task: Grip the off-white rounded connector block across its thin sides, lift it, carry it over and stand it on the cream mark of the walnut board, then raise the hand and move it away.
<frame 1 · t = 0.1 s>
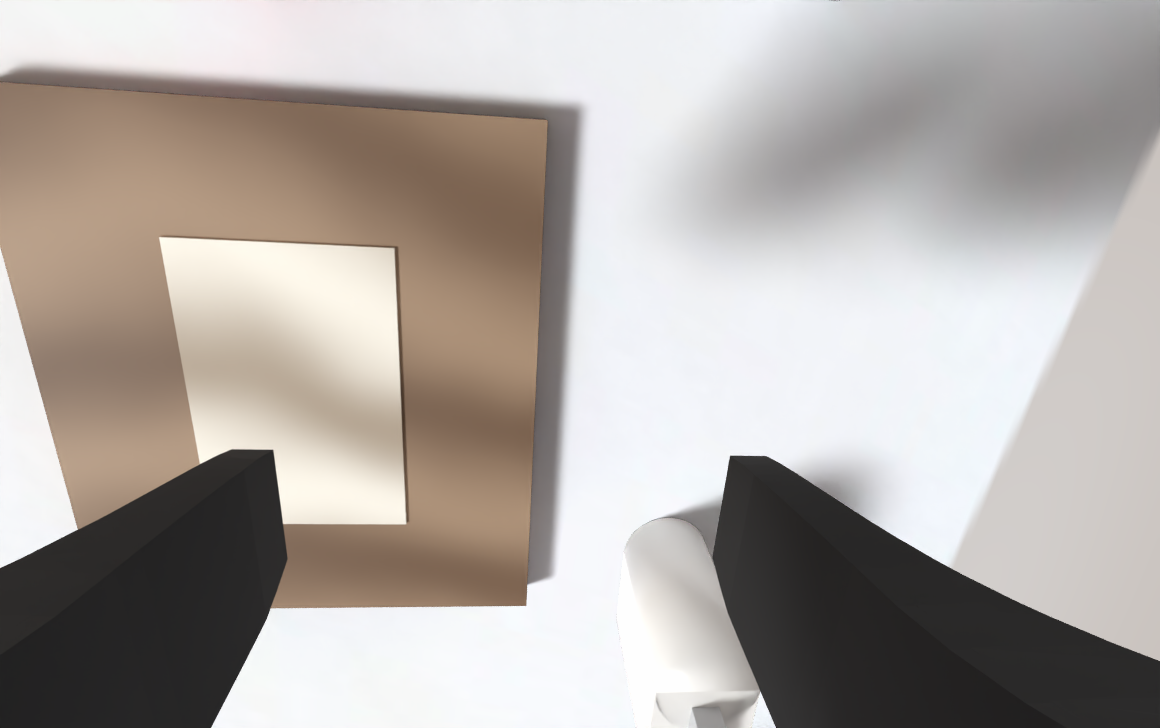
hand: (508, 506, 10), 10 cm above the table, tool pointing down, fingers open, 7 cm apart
walnut board: (307, 381, 20), on the table
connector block: (659, 584, 24), on the table
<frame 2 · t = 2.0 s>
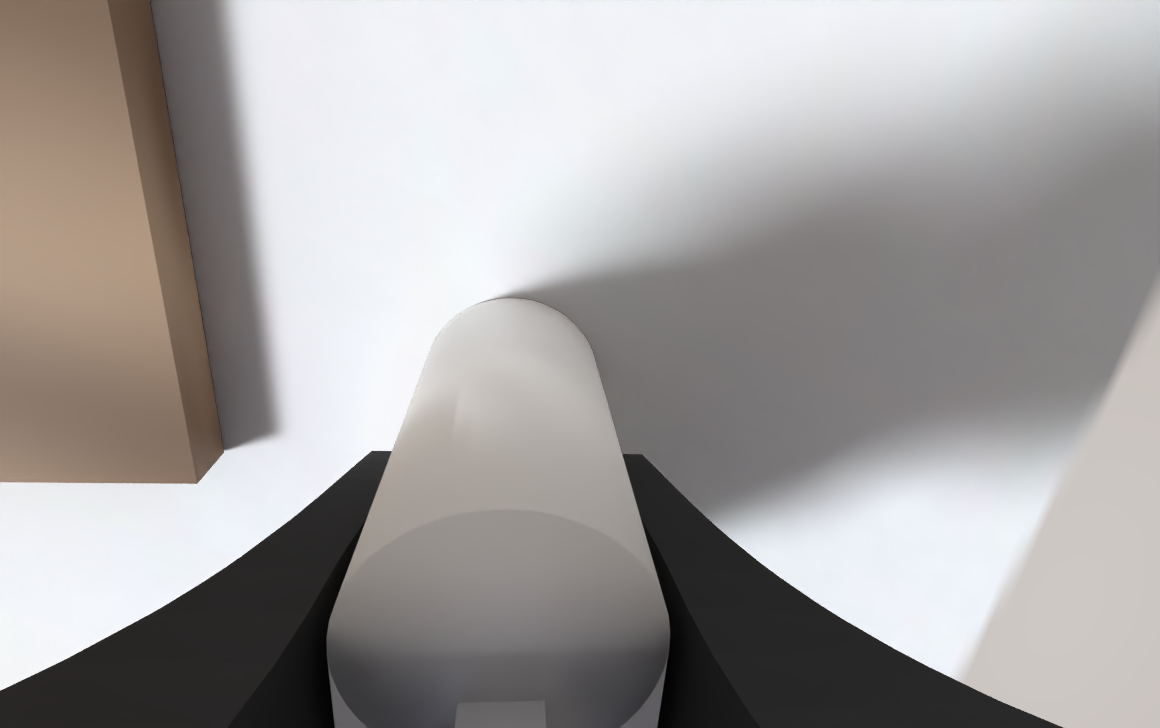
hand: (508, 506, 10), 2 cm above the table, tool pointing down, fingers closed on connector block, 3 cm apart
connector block: (510, 455, 12), on the table, touching gripper
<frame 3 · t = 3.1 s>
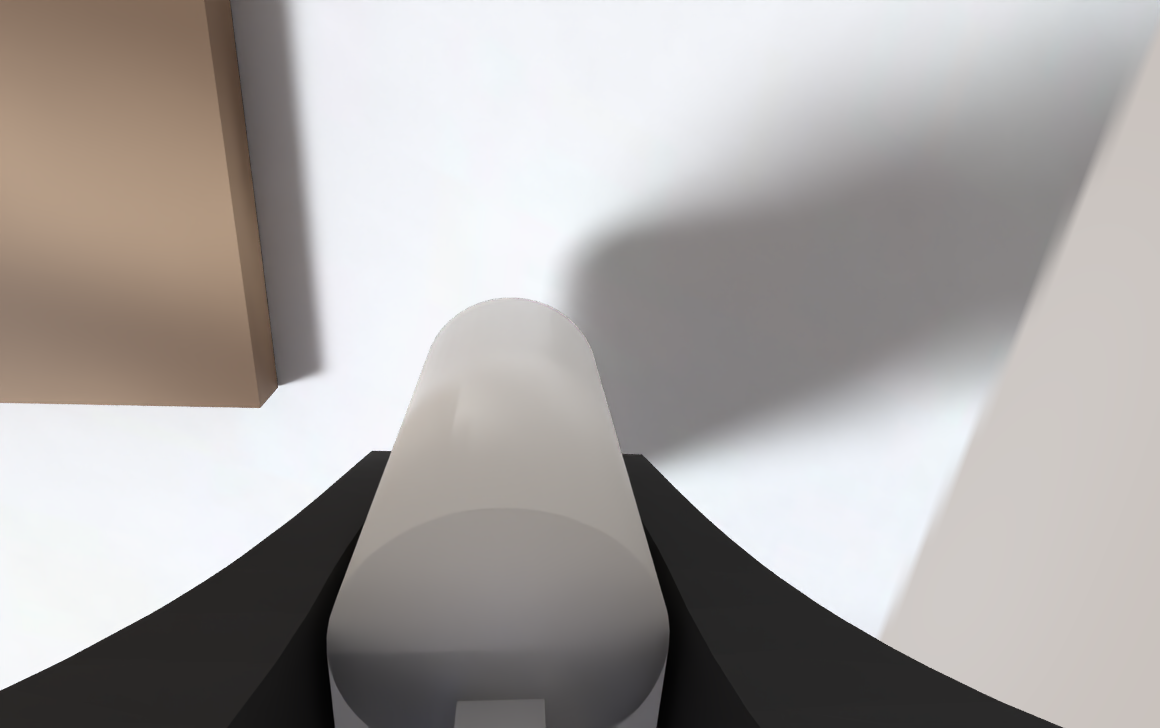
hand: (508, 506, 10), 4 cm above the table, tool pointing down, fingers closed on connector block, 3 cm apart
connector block: (509, 454, 12), point 3 cm above the table, touching gripper
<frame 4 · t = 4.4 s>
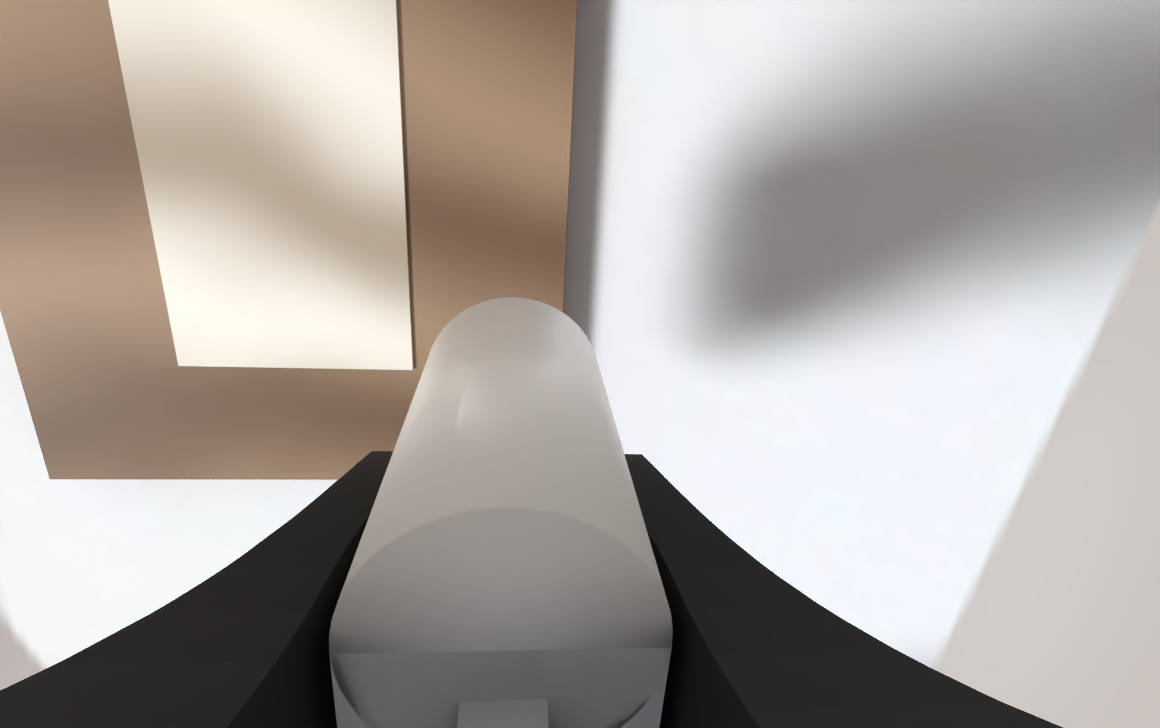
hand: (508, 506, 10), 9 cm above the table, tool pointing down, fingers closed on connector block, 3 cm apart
walnut board: (292, 189, 16), on the table
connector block: (511, 454, 12), point 7 cm above the table, touching gripper
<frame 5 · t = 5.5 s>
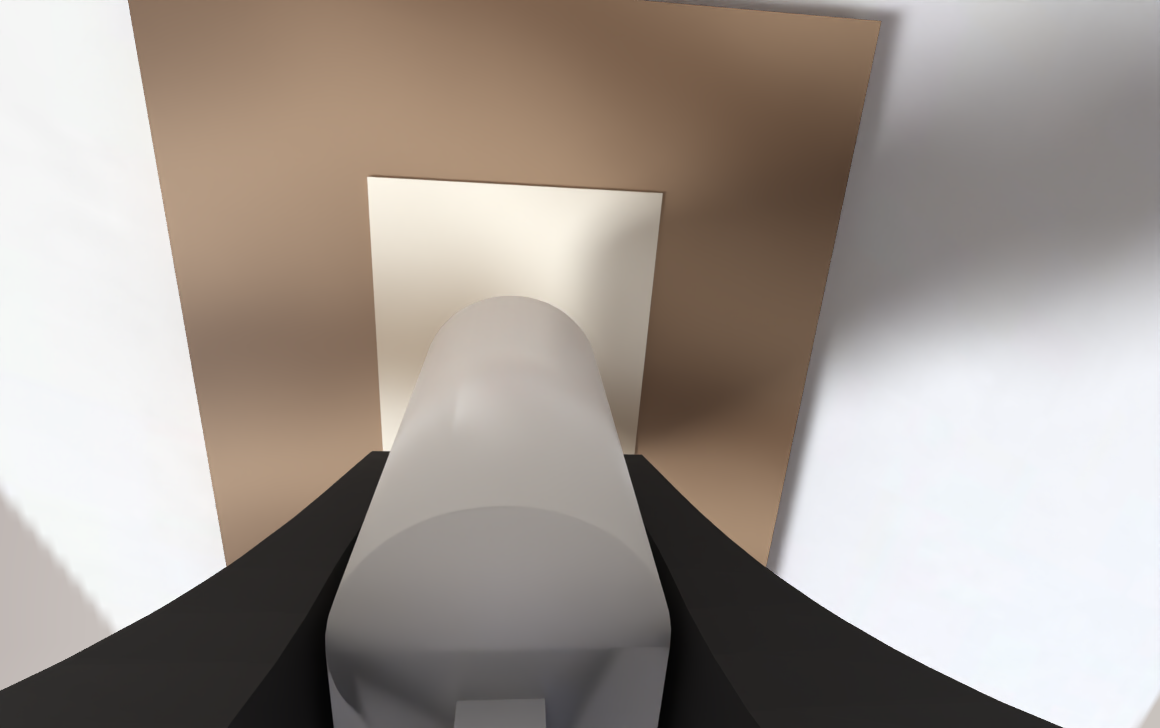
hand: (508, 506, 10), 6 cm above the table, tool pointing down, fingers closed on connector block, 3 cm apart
walnut board: (513, 368, 16), on the table
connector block: (509, 453, 12), point 4 cm above the table, touching gripper
when the fingers open (4 cm above the table, at t = 6.6 s): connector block stays where it is, resting on walnut board.
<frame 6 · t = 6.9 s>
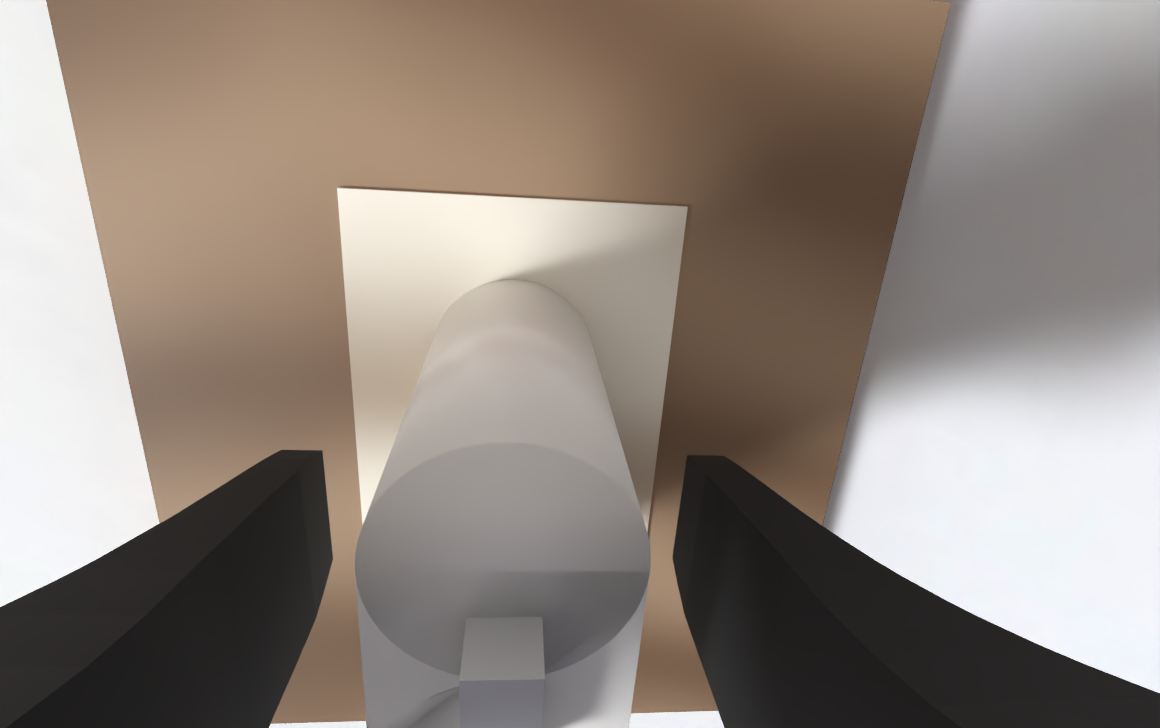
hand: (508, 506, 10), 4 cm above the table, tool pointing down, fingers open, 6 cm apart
walnut board: (511, 405, 14), on the table
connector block: (510, 427, 13), point 1 cm above the table, touching walnut board
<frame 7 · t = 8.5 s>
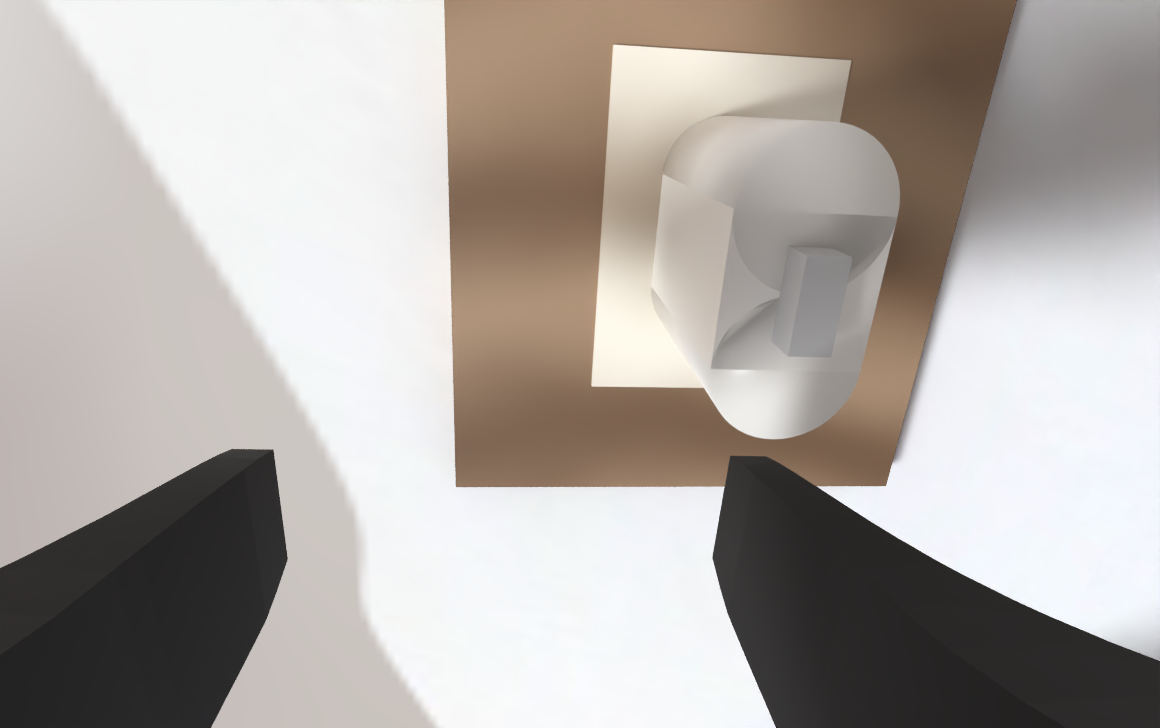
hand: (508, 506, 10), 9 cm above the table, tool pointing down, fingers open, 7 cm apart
walnut board: (700, 229, 18), on the table
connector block: (711, 234, 17), point 1 cm above the table, touching walnut board
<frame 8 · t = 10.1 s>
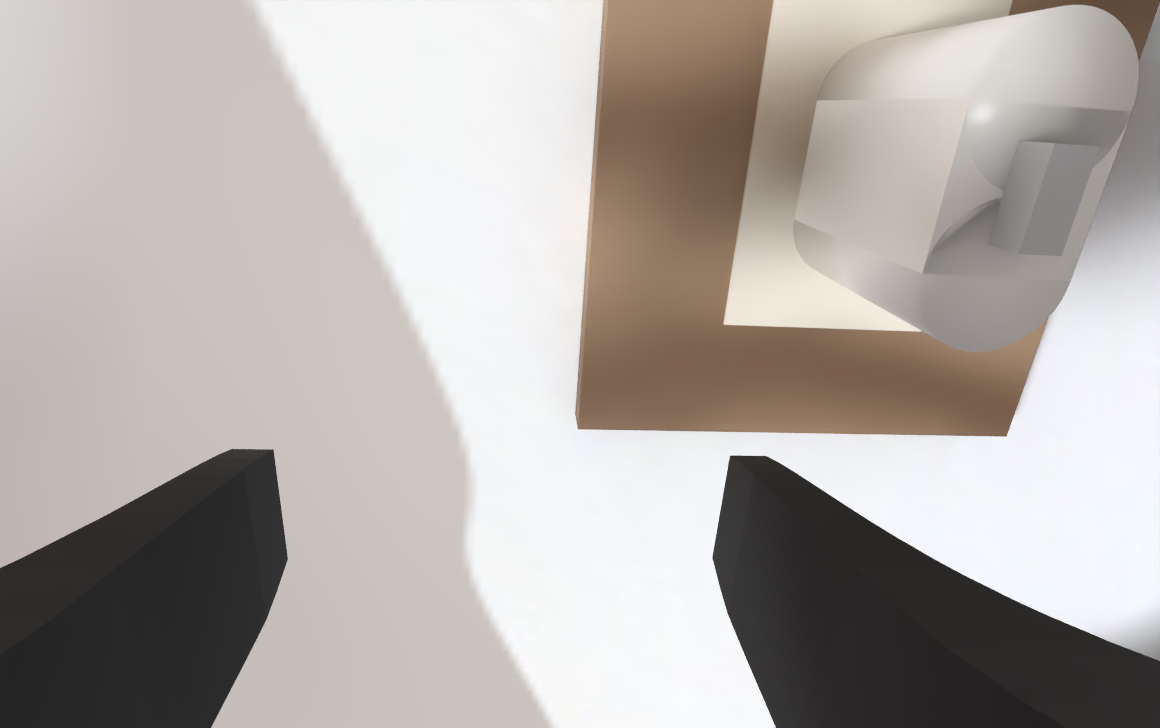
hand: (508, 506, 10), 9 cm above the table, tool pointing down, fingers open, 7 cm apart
walnut board: (839, 164, 18), on the table
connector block: (859, 165, 17), point 1 cm above the table, touching walnut board
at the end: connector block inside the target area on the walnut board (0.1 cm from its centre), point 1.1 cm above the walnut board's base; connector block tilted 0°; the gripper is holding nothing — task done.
